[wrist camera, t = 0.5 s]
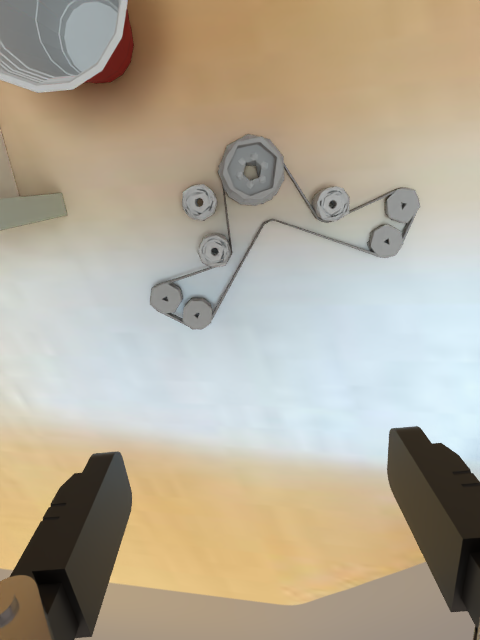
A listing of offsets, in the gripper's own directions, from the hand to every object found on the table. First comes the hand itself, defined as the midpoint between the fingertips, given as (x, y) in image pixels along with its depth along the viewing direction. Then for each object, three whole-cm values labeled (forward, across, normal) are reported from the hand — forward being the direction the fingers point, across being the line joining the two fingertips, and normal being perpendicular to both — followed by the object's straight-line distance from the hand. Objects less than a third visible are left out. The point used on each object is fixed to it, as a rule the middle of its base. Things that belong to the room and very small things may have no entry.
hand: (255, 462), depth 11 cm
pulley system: (+29, -3, -4) cm, 29 cm away
